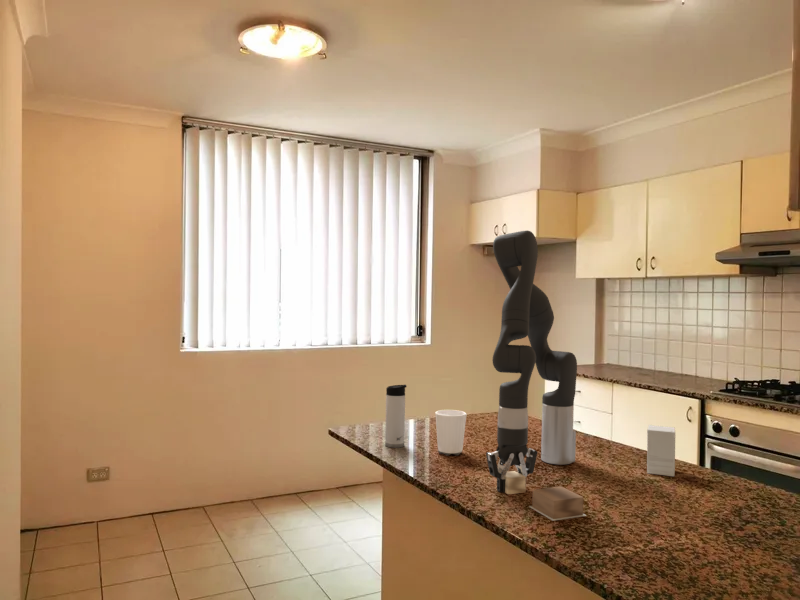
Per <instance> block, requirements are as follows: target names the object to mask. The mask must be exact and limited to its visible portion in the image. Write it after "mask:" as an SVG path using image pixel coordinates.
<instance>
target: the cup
mask: <svg viewBox="0 0 800 600" xmlns="http://www.w3.org/2000/svg"><path fill="white" fill-rule="evenodd" d="M434 413H435V426H436V429H435V430H436V441H437V442H436V443H437V452H438V454H440V455H441V454H444V456H447V457H448V456H450V455H453V456H456V457H457V456H459V455H460V454H462V452H463V448H464V441H465V440H464V439H465V430H466V421H467V413H466V412H465V411H463V410H458V409H457V410H456V409H439V410H437V411H435V412H434Z"/></svg>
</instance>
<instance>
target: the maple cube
mask: <svg viewBox="0 0 800 600" xmlns="http://www.w3.org/2000/svg"><path fill="white" fill-rule="evenodd" d="M526 489H527V476H524V475H522V474H520V473H518V471H516V470H510V471H509V470H508V471H507V473H506V476H505V493H504V494H507V495H513V494H514V495H515V494H521V493H522V494H523V493H526Z"/></svg>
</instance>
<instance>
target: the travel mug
mask: <svg viewBox="0 0 800 600" xmlns="http://www.w3.org/2000/svg"><path fill="white" fill-rule="evenodd" d="M406 388H407V384H396V385H394V384H393V385H389V386H387V387H386V394H385V430H384V431H385V432H384V433H385V436H384V437H385V438H384V444H385V446H386V447H387V448H392V449H394V448H395V449H397V448H402V447H404V446H405V434H406V433H405V429H406V428H405V425H406V424H405V422H406Z"/></svg>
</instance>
